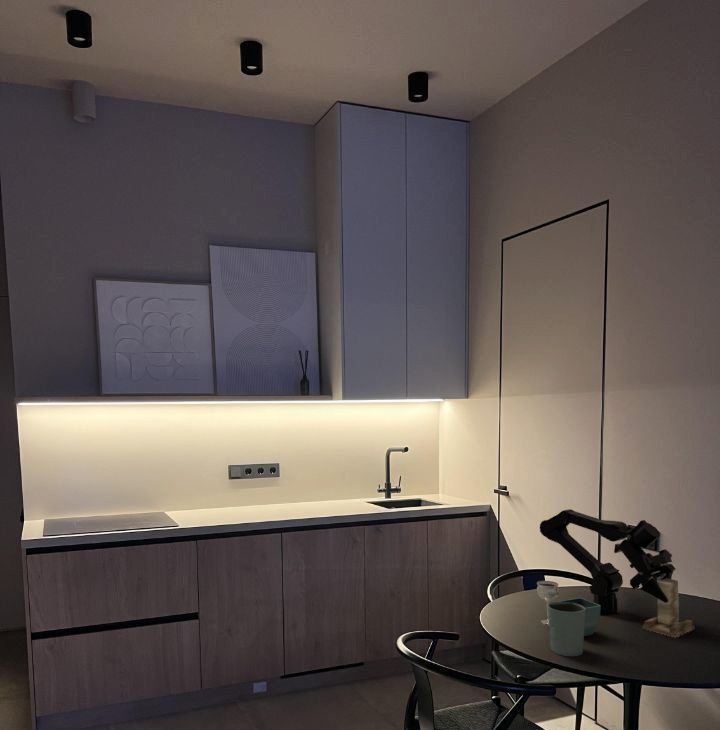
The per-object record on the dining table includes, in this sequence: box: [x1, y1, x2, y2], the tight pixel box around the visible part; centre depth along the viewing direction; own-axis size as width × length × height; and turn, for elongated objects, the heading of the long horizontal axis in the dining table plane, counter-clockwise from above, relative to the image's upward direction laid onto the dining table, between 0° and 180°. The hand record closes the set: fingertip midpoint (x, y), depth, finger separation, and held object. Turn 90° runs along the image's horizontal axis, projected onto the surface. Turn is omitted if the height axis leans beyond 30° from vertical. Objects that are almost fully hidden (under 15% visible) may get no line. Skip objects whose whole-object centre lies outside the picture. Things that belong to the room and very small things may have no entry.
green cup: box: [546, 601, 585, 657], centre depth 185 cm, size 10×10×12 cm
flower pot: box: [558, 597, 601, 637], centre depth 198 cm, size 9×9×9 cm
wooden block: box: [656, 578, 680, 625], centre depth 202 cm, size 6×4×12 cm, turn 128°
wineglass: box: [536, 580, 560, 626], centre depth 208 cm, size 7×7×12 cm
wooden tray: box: [642, 615, 696, 639], centre depth 201 cm, size 12×10×2 cm
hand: (672, 600), depth 201 cm, fingers closed on wooden block, 6 cm apart
